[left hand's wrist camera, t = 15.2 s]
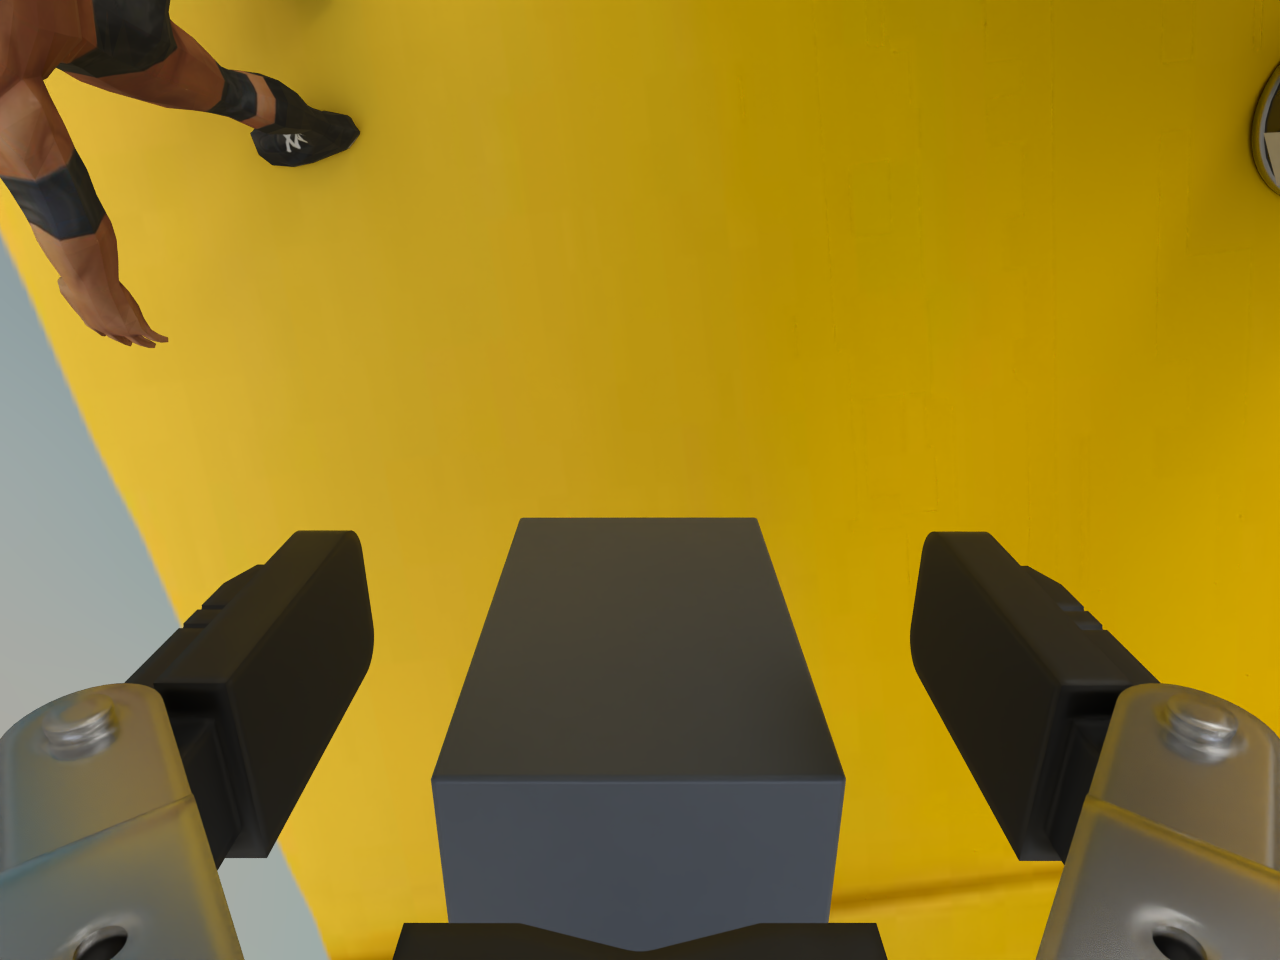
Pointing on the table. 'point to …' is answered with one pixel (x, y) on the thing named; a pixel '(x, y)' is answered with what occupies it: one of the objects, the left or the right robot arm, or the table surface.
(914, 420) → the table surface
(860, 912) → the table surface
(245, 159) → the table surface
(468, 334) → the table surface
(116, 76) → the figurine
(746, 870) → the bar
